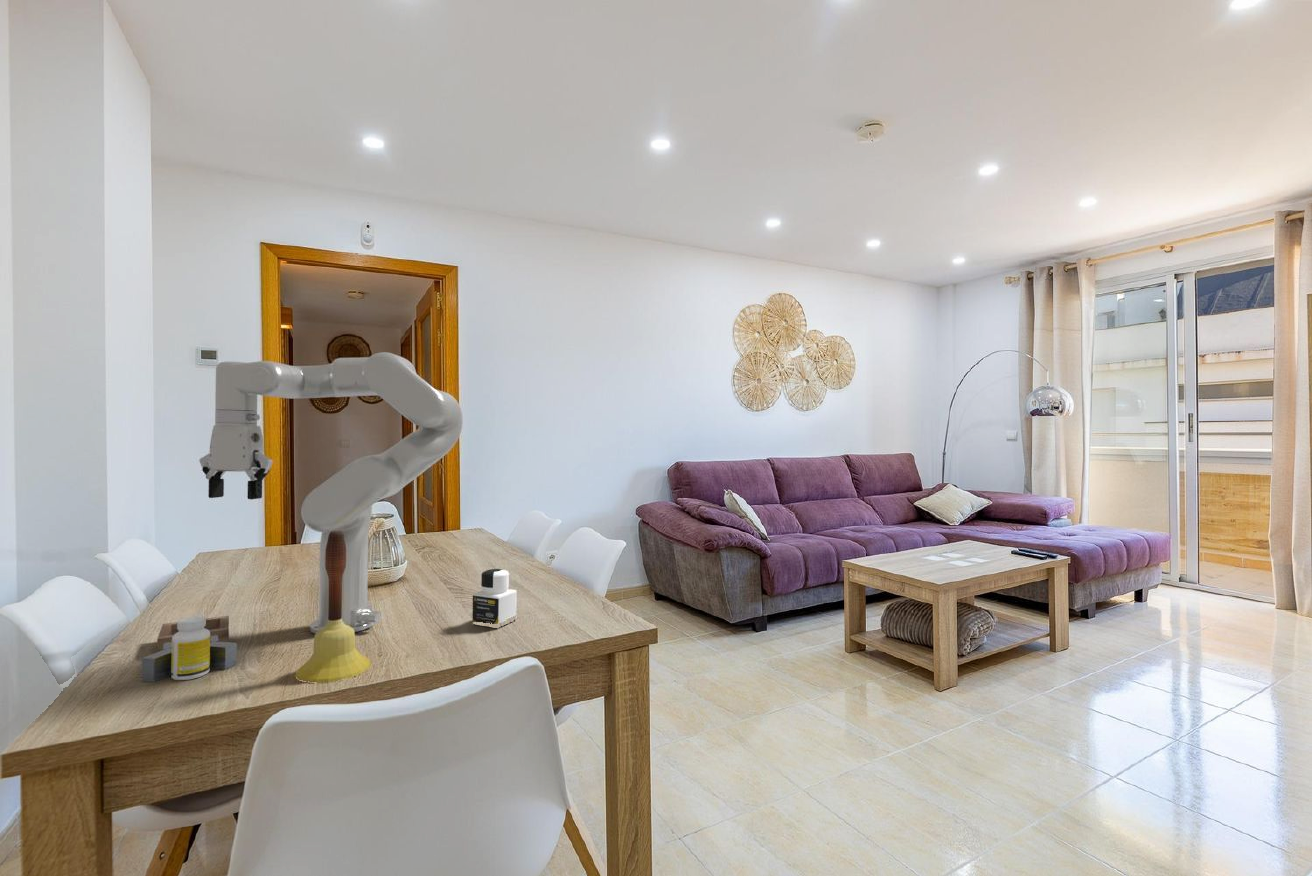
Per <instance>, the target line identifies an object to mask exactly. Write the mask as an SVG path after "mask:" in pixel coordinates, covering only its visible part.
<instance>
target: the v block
mask: <svg viewBox="0 0 1312 876" xmlns="http://www.w3.org/2000/svg"><path fill="white" fill-rule="evenodd" d="M237 645H238V644H237V642H231V641H230V642H218V635H214V636H210V670H211V669H214V670H225V671H226V670H228V669H230V668H233V667H235V666H236V665H237V655H238V653H237V647H238V646H237ZM171 656H172V642H167V643H164V645H163V650H162V651H159V652H157V651H156V652H155V653H152V654H148V655H145V656H143V657H141V682H146V683H155V682H158V681H160V680H163V679H165V678H167V677H170V676H171ZM234 665H235V666H234Z"/></svg>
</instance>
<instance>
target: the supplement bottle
mask: <svg viewBox="0 0 1312 876" xmlns="http://www.w3.org/2000/svg"><path fill="white" fill-rule="evenodd" d="M206 618H207V617H206V616H202V615H197V616H188V617H184V618H180V619H178V620H177V621H176V622H177V629H178V630H179V632H177V633H176V634H174V635H173V637H172V656H171V677H170V678H171V679H173V680H175V681H188V680H189V681H190V680H193V679H194V680H195V679H196V678H200V677H203V676H206V675H207V674H208V673H209V672H210V670H211V669H210V631H209V630H208V629H205V628H204V626H205V625H206Z"/></svg>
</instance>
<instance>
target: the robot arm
mask: <svg viewBox="0 0 1312 876" xmlns="http://www.w3.org/2000/svg"><path fill="white" fill-rule="evenodd" d="M214 395H215V396H214V397H215V404H214V406H215V407H214V408H215V409H214V412H215V413H214V425H213V426H212V431H211V435H210V442H209V453H208V454H207V453H206V455H204V456H202V457H200V459H199V463H200V466H201V468H202V470H201V471H202V472H203V473H204V475H205V478H206V480H208V498H209V499H217V498H223V497H224V495H225V493H224V491H225V487H224V486H225V484H224V483H225V479H224V478H222V477H223V476H224V474H225V473H226V472H239V473H240V472H242V473H243V472H244V473H246V475H247V476H248V478H249V479H250V480H247V499H248V500H258V499H259V500H260V499H262V498H263V481H264V480H266V476H267V475H268V474H269V473H270V470H271V468H272V465H273V463H274V462H273V460H272V459H271V458H269V457H268V456H266V455H265V444H264V437H263V432H262V428H261V426H260V425H258V421H259V420H260V419H261V418H260V414H258V396H264V397H271V398H282V399H293V400H294V399H314V398H315V399H317V398H318V399H319V398H320V399H321V398H343V397H345V398H346V397H362V396H363V397H365V396H367V397H368V396H370V397H371V396H379V397H380V398H381V399H383V401H385V402H386V403H387V404H388V405H389V406H391V407H392V408H393V409H395V410H396V411H397V412H398V413H400V415H402V416H403V417H404V418H405V419H406V420H408V421H410V422H411V423H412V424H413V425H416V426H418V428H417V429H415V430H414V431H413V432H410V433H409V434H408V435H406V436H404V437H403V438H402V439H401V440H399V442H397V443H395V444H394V445H393V446H391V447H390V448H388V449H387V450H385V451H383V452H381V453H378V454H370V455H365V456H362V457H360V458H357V459H356V460H354V461H352V462H350V463H349V464H347V465H346V466H344V468H342V469H340V470H339V471H338V472H336V473H335V474H333V475H332V476H331V477H329V478H328V479H327V480H325V481H324V482H323V483H321V484H319V485H318V486H317V487H315V488H314V489H313V490H312V491H310V492H309V493H308V494H307V495H306V497H305V498H304V500H303V502H302V505H301V510H300V513H301V514H300V516H301V518H302V519H301V520H302V521H303V523H304V524H305V526H307V527H308V528H309V529H310V530H313V531H315V532H318V533H321V535H320V543H319V564H318V565H319V566H318V568H319V569H318V619H316V620H314V621H313V622H311V624H310V626H309V629H310V632H311V633H312V634H314V635H315V634H316V633H317V632H318V631H319V630H320V629H321V628H323V627H325V626H326V624H327V622H328V606H329V578H328V574H327V571H326V568H325V554H326V553H325V551H326V545H327V541H328V536H329V533H330V532H331V531H342V532H343V535H344V540H345V545H346V568H345V570H344V573H343V577H342V621H343V623H344V624H345V625H348V626H350V627H351V628H353V630H354V632H355V633H357V632H360V631H364V630H367V629H369V628H371V627H372V626H374V624H377V623H379V622H380V620H381V617H382V615H383V613H382V611H381V610H380V611H379V610H372V606H373V605H372V603H368V579H369V577H368V573H369V571H368V568H369V567H368V566H369V565H368V564H369V560H368V559H369V557H368V556H369V537H370V536H369V535H370V526H371V519H372V512H373V505H374V504H376V503H377V502H379V501H381V500H382V499H383V500H384V499H387V498H389V497H392V496H394V495H396V494H398V493H399V492H400V491H401V490H402V489H404V488H405V487H406V486H407V485H409V484H410V483H411V482H412V481H414V480H415V479H416V478H418V477H419V476H420V475H422V474H423V473H425V471H427V470H428V469H429V468H431V467H432V466H433V465H435V464H436V463H437V462H439V461H440V460H441V459H442V458H444V457H445V456H446V455H447V454H448V453H449V452H450V451H451V450H452V449H453V448H454V446H455V445H456V443H457V442H458V440H459V438H460V436H461V434H462V433H461V432H462V429H463V413H462V409H461V406H460V404H459V402H458V400H457V399H456V398H455V397H454V396H453V395H452V394H450V393H448V392H445V391H443V390H439V389H437V388H436V389H435V388H434V387H433V386H432V385H431V384H429V383H428V382H427V381H426V380H425V379H423V378H422V377H420V375H418V374H417V371H416V368H415V366H414V365H413V363H412V362H410V360H408V359H407V358H405V357H403V356H399V355H398V354H394V353H392V352H388V351H387V352H385V351H384V352H383V351H382V352H378V353H373V354H372V355H370V356H368V357H366V356H364V357H339V358H336V359H334V360H333V361H332V362H331V363H328V364H321V365H320V364H319V365H290V364H286V363H281V362H275V361H270V360H258V361H251V362H242V361H221V362H219V363H217V364H216V368H215V394H214Z"/></svg>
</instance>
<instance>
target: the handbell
mask: <svg viewBox="0 0 1312 876" xmlns="http://www.w3.org/2000/svg"><path fill="white" fill-rule="evenodd" d="M325 553H326V554H325V568H326V571H327V574H328V578H329V606H328V622H327V624H326V626H325V627H323V628H321V629H320V630H319V631H318V632H317V633H316V634H315V633H314V639H313V653H312V655H310V657H309V659H308V660H307V661H306V662H304V664H302V665H301V666H300V667H299V668H298V669H297V670H296V672H295V674H296V675H295V674H294V678H295V677H297V678H298V679H299V680H303V681H306V682H308V681H309V682H317V683H321V684H329V683H328V682H332V683H334V682H333V681H338V680H342V679H346V678H349V677H354V676H356V675H358V674H360V673H362V672H363V671H364V670H367V669H368V668H369V666H370V662H371V660H370V659H369V658H367V657H366V656H364V655H362V654H361V653H360V652H359V651H358V650H357V648H356V636H355V635H356V634H355V633H356V632H354V630H353V628H351V627H350V626H348V625H345V624H344V623H343V621H342V577H343V573H344V570H345V568H346V545H345V540H344V535H343V532H342V531H331V532H330V533H329V536H328V541H327V545H326V551H325ZM356 677H357V676H356ZM354 678H355V677H354ZM323 682H324V683H323ZM338 682H339V681H338Z"/></svg>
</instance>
